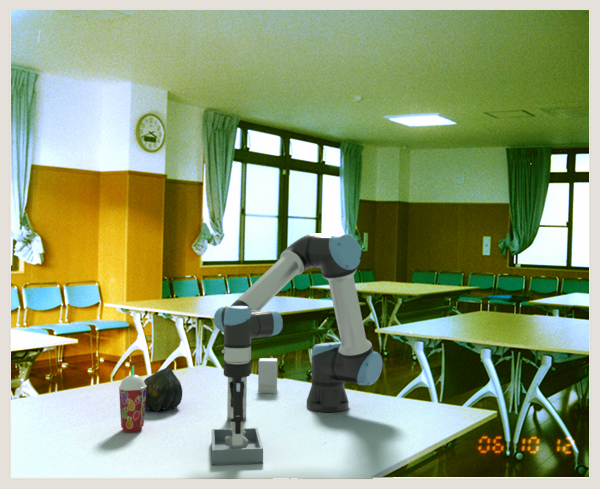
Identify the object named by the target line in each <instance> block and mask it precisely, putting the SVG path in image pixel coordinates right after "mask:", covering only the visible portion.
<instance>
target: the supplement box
mask: <svg viewBox="0 0 600 489" xmlns="http://www.w3.org/2000/svg"><path fill="white" fill-rule="evenodd" d="M257 375H258V379H257V380H258V381H257V384H258V385H257V387H258V388H257V393H258V394H277V390H278V357H277V358H275V357H272V358H271V357H270V358H269V357H262V358H261V357H260V358H259V359H258V374H257Z"/></svg>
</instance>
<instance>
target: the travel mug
mask: <svg viewBox="0 0 600 489" xmlns="http://www.w3.org/2000/svg"><path fill="white" fill-rule="evenodd" d="M247 378H248V377H243V378H242V381H244V397H243V418H244V420H243V422H245V421H246V420H247V394H248V393H247V390H248V389H247V388H248V386H247V384H248V383H247V381H248V379H247ZM230 382H232V378H231V377H227V411H226V412H227V416H226V418H227V420H228V422H231V408H233V407H231V402H230V400H231V393H230Z"/></svg>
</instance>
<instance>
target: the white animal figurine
mask: <svg viewBox="0 0 600 489" xmlns="http://www.w3.org/2000/svg"><path fill="white" fill-rule="evenodd" d="M244 433H246V432H245V431H244V430H243V445H236V446H232V437H231V436H227V437H225V441H226V443H225V445H226V446H231V448H232V449H240V448H246V447H247V445H248V440H247V438H246V437H244V435H245V434H244ZM232 434H233V432H232Z"/></svg>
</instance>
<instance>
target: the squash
mask: <svg viewBox="0 0 600 489" xmlns="http://www.w3.org/2000/svg"><path fill="white" fill-rule="evenodd" d="M143 380H144V382H145V385H147V387H146V399H145V411H146V410H147V411H151V412H153V411H155V412H157V411H159V410H167V409H168V410H169V409H170V410H171V409H175V408H177V407H178V406H180V404H181V403H182V400H183V387H182V384H181V382H180V381H181V380H179V378H178V377H177V375H176V374H175V373H174V371H173V370H172V369H171V367H167V368H166V367H165V368H163V369H160V370H158V371H157V372H155V373H153V374H151V375H150V376H148V377H146V378H145V379H143Z"/></svg>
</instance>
